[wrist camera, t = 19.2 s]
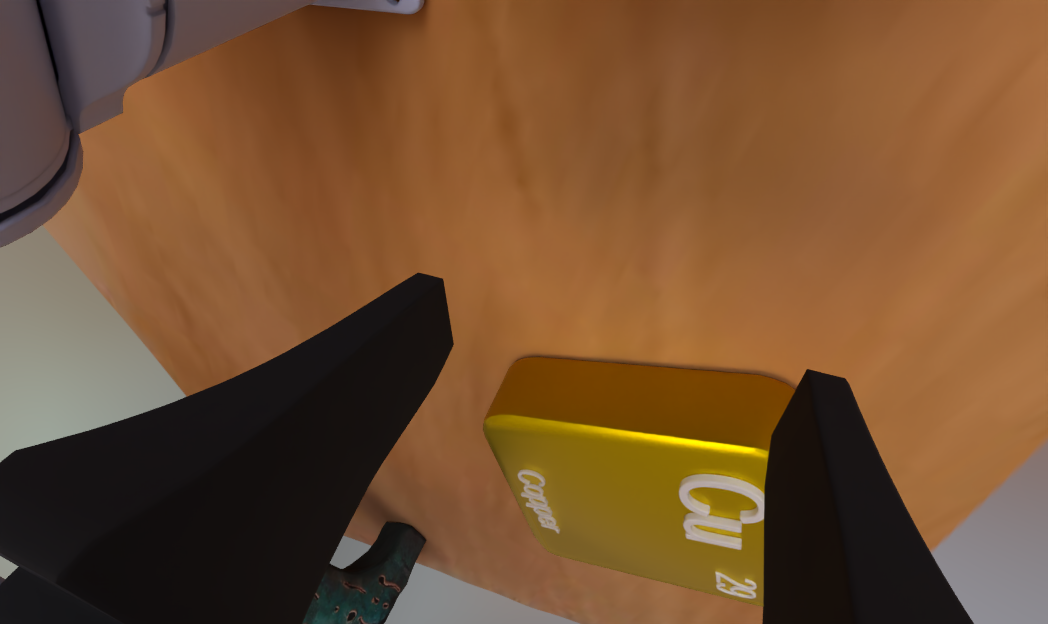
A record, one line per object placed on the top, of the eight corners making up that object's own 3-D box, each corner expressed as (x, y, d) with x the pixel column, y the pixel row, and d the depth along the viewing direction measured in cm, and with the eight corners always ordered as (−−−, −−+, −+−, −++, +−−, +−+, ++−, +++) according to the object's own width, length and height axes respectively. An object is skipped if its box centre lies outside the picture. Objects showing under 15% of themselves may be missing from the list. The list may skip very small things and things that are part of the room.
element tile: (501, 350, 29) (465, 420, 26) (810, 374, 23) (813, 471, 20) (559, 496, 38) (537, 560, 35) (790, 542, 32) (790, 626, 29)
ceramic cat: (443, 548, 55) (332, 792, 42) (402, 543, 59) (287, 765, 45) (314, 430, 46) (117, 696, 32) (274, 432, 49) (82, 672, 36)
